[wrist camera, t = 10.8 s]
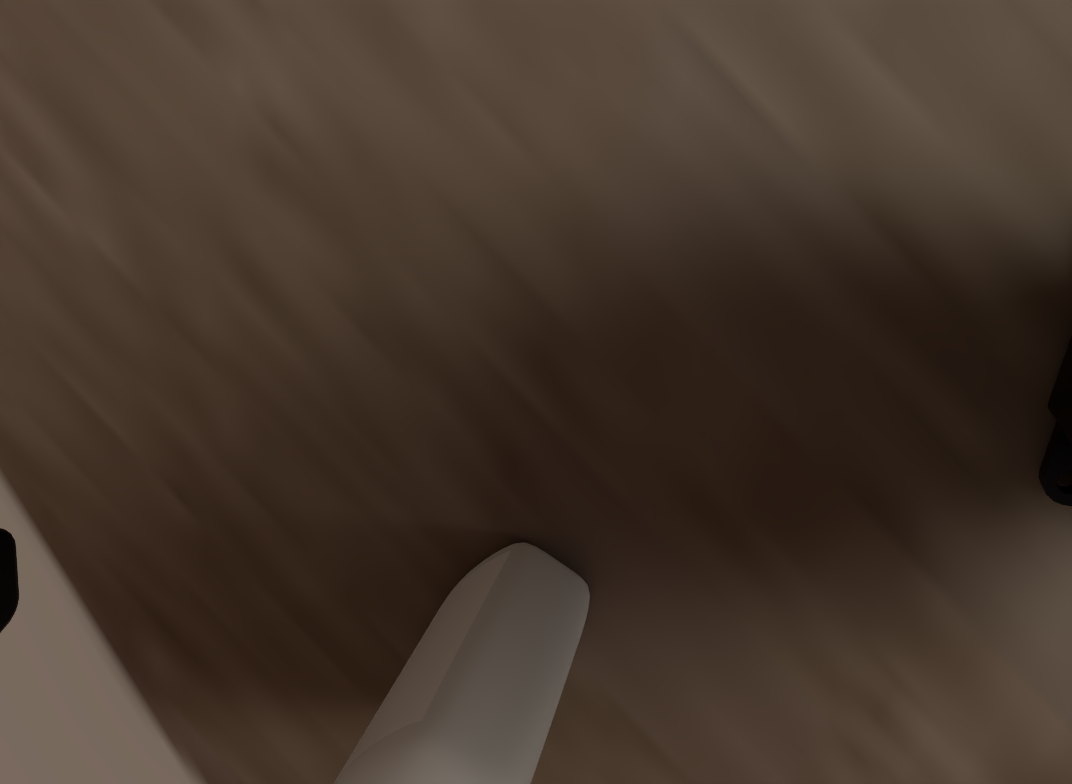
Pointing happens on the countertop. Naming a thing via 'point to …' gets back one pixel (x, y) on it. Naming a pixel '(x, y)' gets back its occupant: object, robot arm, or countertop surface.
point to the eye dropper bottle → (480, 679)
